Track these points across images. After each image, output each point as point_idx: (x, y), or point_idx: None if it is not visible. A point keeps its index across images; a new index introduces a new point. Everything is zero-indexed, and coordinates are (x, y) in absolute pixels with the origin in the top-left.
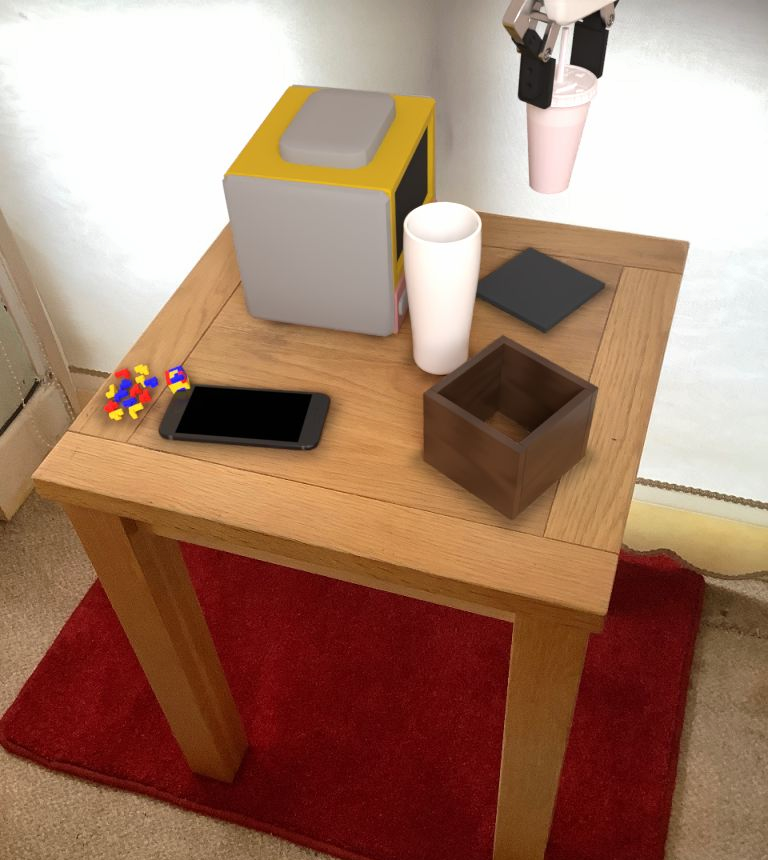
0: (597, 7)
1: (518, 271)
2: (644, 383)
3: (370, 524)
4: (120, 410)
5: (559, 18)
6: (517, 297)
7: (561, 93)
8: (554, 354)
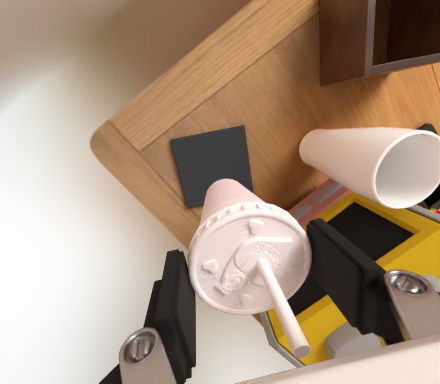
0: (338, 377)
1: None
2: (226, 26)
3: None
4: None
5: None
6: (235, 166)
7: (286, 232)
8: (254, 101)
